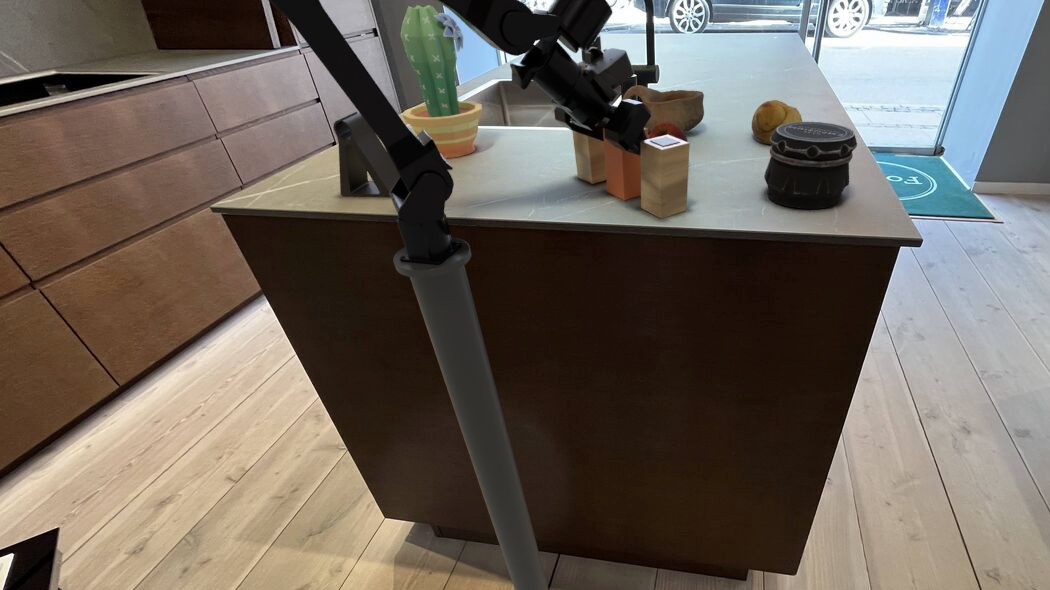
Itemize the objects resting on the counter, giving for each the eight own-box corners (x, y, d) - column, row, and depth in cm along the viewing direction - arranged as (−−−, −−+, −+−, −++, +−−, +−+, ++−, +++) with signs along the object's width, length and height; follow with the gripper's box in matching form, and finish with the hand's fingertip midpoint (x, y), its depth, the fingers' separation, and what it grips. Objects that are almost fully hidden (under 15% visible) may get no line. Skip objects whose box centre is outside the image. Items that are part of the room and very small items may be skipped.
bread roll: (745, 131, 114) (748, 90, 109) (789, 129, 114) (795, 88, 109) (755, 148, 104) (760, 104, 99) (805, 146, 104) (812, 102, 99)
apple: (638, 170, 96) (636, 123, 91) (665, 159, 100) (665, 114, 95) (669, 178, 92) (669, 130, 87) (696, 167, 96) (698, 120, 91)
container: (842, 184, 87) (855, 120, 81) (848, 214, 77) (864, 144, 71) (763, 180, 90) (771, 118, 83) (760, 209, 80) (768, 140, 74)
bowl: (616, 135, 109) (615, 81, 105) (626, 137, 122) (625, 88, 118) (702, 134, 107) (704, 79, 103) (703, 136, 120) (705, 87, 116)
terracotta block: (624, 200, 84) (621, 134, 78) (607, 192, 87) (602, 127, 81) (649, 193, 86) (647, 128, 80) (631, 185, 90) (629, 122, 84)
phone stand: (407, 184, 93) (385, 111, 86) (391, 196, 89) (366, 120, 81) (359, 183, 94) (333, 111, 87) (341, 196, 90) (312, 120, 82)
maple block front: (686, 210, 80) (689, 142, 74) (660, 219, 78) (662, 149, 72) (666, 200, 83) (667, 133, 77) (640, 208, 81) (640, 140, 75)
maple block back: (616, 177, 92) (611, 115, 87) (592, 183, 90) (586, 120, 84) (601, 171, 96) (595, 111, 90) (577, 177, 94) (570, 116, 88)
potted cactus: (450, 167, 100) (411, 10, 85) (397, 156, 107) (352, 8, 91) (506, 146, 110) (481, 2, 95) (455, 137, 117) (423, 1, 102)
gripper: (637, 33, 65) (701, 114, 77) (562, 23, 77) (627, 94, 89) (588, 113, 66) (658, 180, 78) (522, 91, 78) (591, 152, 90)
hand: (633, 148), depth 83 cm, fingers open, 9 cm apart
